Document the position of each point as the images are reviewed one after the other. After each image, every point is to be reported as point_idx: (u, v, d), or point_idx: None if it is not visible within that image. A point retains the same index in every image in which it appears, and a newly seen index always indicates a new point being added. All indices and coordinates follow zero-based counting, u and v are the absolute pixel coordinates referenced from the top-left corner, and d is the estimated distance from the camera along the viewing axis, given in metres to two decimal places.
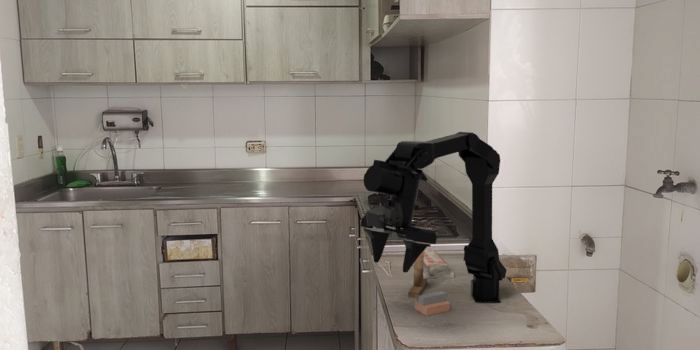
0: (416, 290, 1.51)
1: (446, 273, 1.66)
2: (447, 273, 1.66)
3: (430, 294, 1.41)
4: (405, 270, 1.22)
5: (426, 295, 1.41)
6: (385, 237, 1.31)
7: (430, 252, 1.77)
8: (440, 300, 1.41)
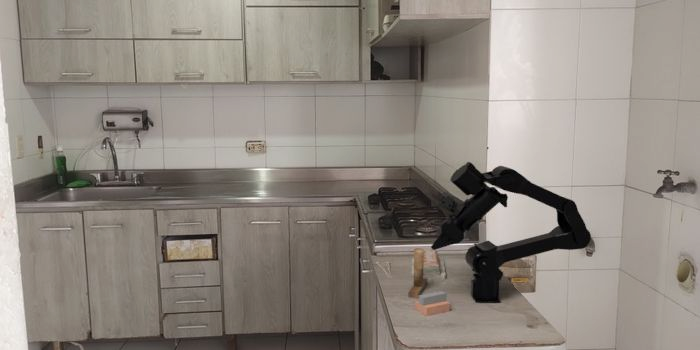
0: (416, 290, 1.51)
1: (437, 273, 1.65)
2: (437, 274, 1.66)
3: (430, 294, 1.41)
4: (432, 246, 1.47)
5: (426, 295, 1.41)
6: None
7: (430, 252, 1.77)
8: (440, 300, 1.41)
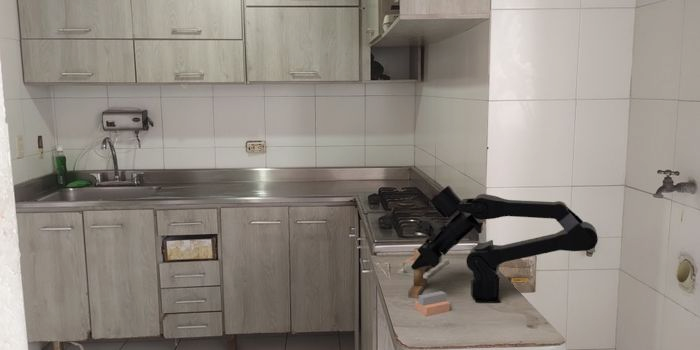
0: (416, 290, 1.51)
1: None
2: None
3: (430, 294, 1.41)
4: (412, 266, 1.53)
5: (426, 295, 1.41)
6: None
7: None
8: (440, 300, 1.41)
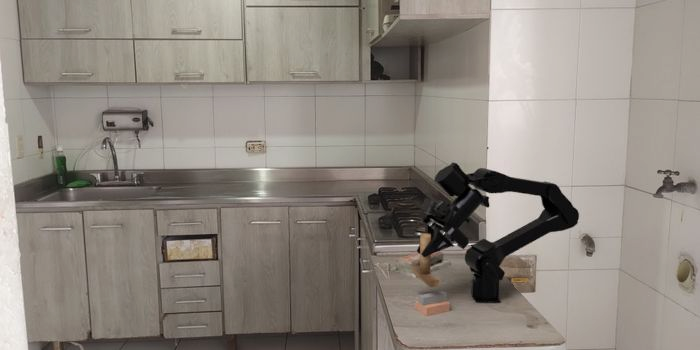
0: (433, 278, 1.40)
1: (409, 271, 1.68)
2: (410, 271, 1.68)
3: (430, 294, 1.41)
4: (423, 254, 1.41)
5: (426, 295, 1.41)
6: None
7: None
8: (440, 300, 1.41)
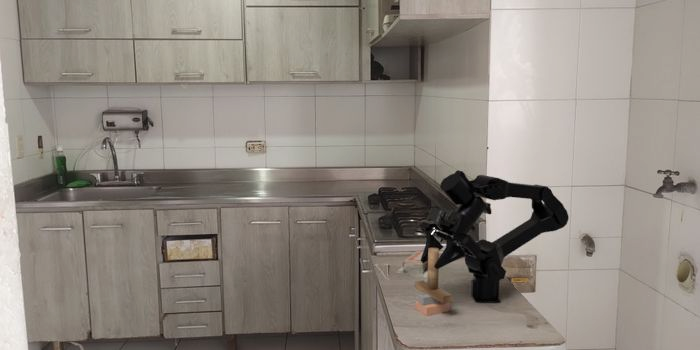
0: (445, 293, 1.37)
1: (420, 272, 1.67)
2: (421, 272, 1.67)
3: None
4: (436, 266, 1.37)
5: (426, 295, 1.41)
6: (438, 247, 1.44)
7: None
8: None
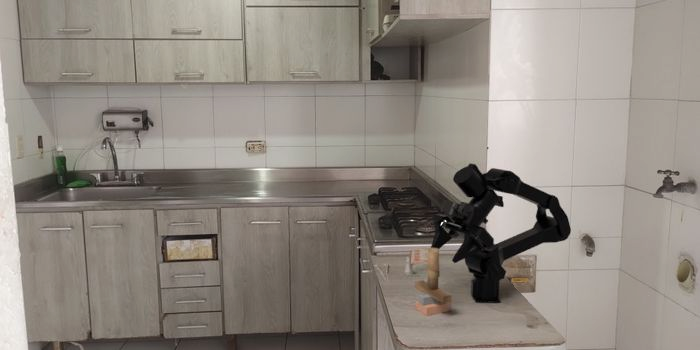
0: (445, 293, 1.37)
1: None
2: None
3: None
4: (454, 260, 1.37)
5: (426, 295, 1.41)
6: (447, 238, 1.47)
7: (424, 251, 1.79)
8: None
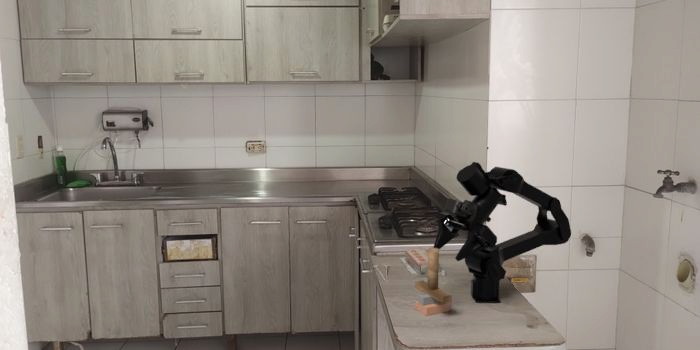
0: (445, 293, 1.37)
1: None
2: (438, 271, 1.68)
3: None
4: (458, 258, 1.37)
5: (426, 295, 1.41)
6: (450, 236, 1.48)
7: (421, 251, 1.79)
8: None
